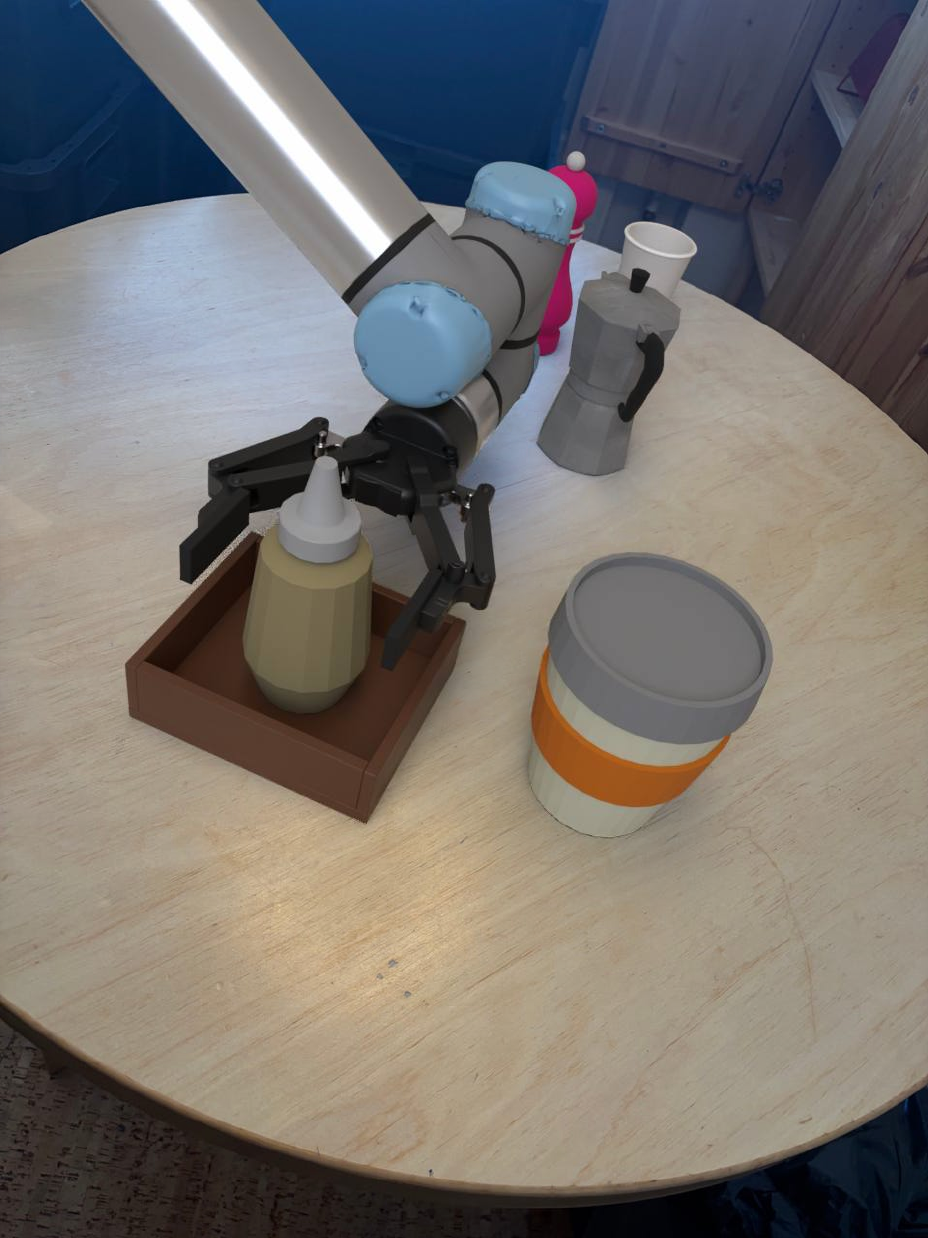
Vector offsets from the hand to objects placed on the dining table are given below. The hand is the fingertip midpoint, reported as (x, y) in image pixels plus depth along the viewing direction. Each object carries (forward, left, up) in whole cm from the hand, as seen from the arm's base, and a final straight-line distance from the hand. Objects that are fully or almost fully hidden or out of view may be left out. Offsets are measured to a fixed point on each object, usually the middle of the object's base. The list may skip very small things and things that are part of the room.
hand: (285, 609), depth 54 cm
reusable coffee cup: (+21, -1, -11) cm, 24 cm away
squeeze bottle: (+1, +3, -10) cm, 11 cm away
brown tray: (+1, +3, -11) cm, 11 cm away
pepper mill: (+18, +57, -11) cm, 61 cm away
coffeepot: (+23, +37, -11) cm, 45 cm away
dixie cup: (+31, +67, -11) cm, 75 cm away
